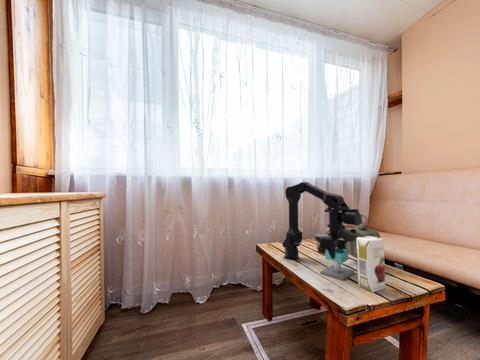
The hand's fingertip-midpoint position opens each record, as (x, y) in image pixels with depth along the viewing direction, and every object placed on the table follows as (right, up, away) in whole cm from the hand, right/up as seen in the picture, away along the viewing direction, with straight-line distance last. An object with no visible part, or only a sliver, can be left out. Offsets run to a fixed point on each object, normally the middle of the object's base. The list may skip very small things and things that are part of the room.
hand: (336, 257), depth 96 cm
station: (0, -7, 0) cm, 7 cm away
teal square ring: (0, -1, 0) cm, 1 cm away
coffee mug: (+7, -9, +33) cm, 35 cm away
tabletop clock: (+17, -8, +9) cm, 21 cm away
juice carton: (+7, -7, -14) cm, 17 cm away
